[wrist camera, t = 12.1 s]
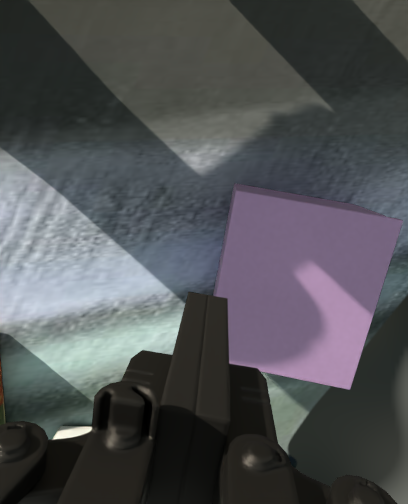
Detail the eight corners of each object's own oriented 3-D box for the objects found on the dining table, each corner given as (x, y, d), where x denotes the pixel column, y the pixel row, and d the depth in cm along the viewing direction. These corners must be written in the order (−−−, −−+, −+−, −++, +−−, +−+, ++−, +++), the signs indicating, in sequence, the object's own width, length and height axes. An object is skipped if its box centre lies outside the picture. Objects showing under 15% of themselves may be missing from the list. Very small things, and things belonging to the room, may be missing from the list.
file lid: (399, 218, 30) (403, 220, 29) (347, 385, 34) (350, 390, 33) (236, 189, 30) (235, 190, 30) (204, 355, 34) (203, 360, 34)
